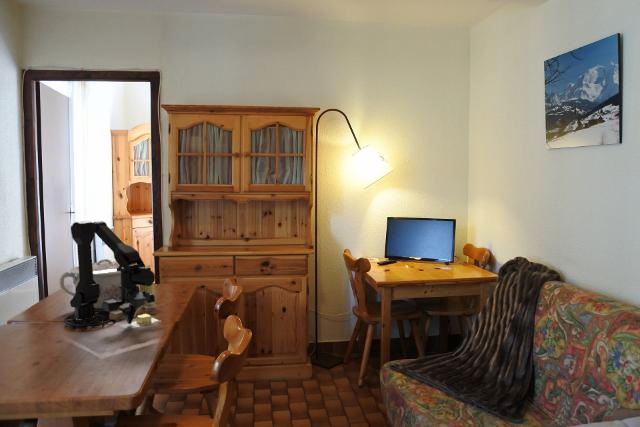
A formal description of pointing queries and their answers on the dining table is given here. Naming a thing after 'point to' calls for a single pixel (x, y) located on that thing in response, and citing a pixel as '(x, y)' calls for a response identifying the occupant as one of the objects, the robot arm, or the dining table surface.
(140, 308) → the peach rounded capsule
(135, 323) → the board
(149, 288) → the vase
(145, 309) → the walnut cube
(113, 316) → the walnut cube
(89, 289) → the robot arm
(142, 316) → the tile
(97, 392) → the dining table surface
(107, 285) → the chamber pot
